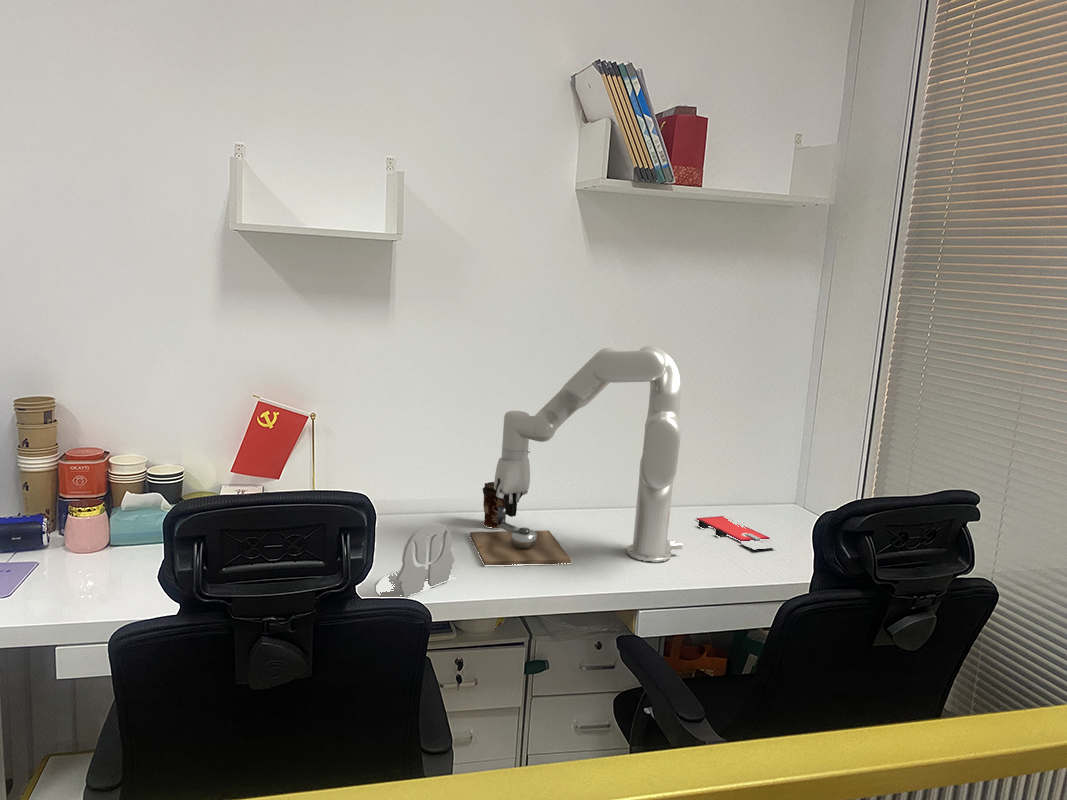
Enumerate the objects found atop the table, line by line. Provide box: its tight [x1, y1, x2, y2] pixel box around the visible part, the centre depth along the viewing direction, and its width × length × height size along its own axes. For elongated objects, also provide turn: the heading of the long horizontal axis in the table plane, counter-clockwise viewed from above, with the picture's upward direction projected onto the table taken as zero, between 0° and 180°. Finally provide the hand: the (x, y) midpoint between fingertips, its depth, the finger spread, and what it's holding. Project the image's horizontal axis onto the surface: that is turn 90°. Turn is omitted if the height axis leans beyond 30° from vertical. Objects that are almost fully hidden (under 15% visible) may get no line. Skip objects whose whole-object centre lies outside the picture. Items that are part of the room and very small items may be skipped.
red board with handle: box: [695, 515, 771, 551], centre depth 252 cm, size 30×3×15 cm
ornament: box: [379, 522, 456, 598], centre depth 197 cm, size 22×13×17 cm, turn 141°
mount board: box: [469, 530, 572, 566], centre depth 225 cm, size 24×23×2 cm
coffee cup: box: [481, 481, 506, 528], centre depth 243 cm, size 9×8×13 cm
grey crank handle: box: [497, 506, 537, 547], centre depth 226 cm, size 15×7×8 cm, turn 43°
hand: (510, 515), depth 233 cm, fingers closed
